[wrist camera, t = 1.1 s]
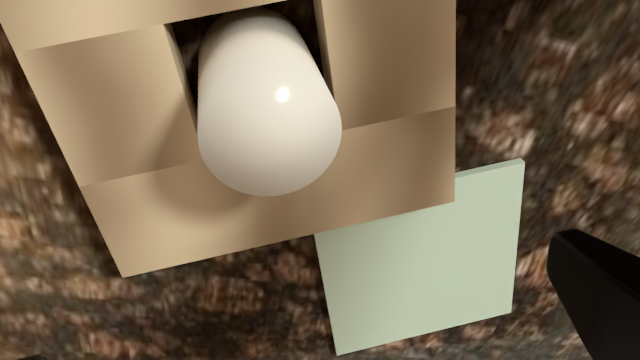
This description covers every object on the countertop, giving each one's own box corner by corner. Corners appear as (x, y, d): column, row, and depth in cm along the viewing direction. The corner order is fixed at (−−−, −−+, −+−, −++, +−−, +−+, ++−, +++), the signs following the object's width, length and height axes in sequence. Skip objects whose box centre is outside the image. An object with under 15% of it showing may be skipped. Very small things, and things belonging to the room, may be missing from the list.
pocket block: (431, -199, 16) (457, -203, 15) (437, 176, 24) (454, 201, 22) (-37, -121, 15) (-66, -116, 14) (128, 246, 23) (122, 277, 21)
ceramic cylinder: (297, -4, 19) (332, 53, 14) (314, 99, 21) (348, 180, 16) (185, 18, 18) (179, 84, 13) (213, 120, 21) (217, 209, 16)
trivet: (520, 158, 24) (524, 162, 24) (507, 307, 30) (510, 312, 30) (308, 205, 24) (309, 211, 23) (335, 349, 29) (336, 355, 29)
